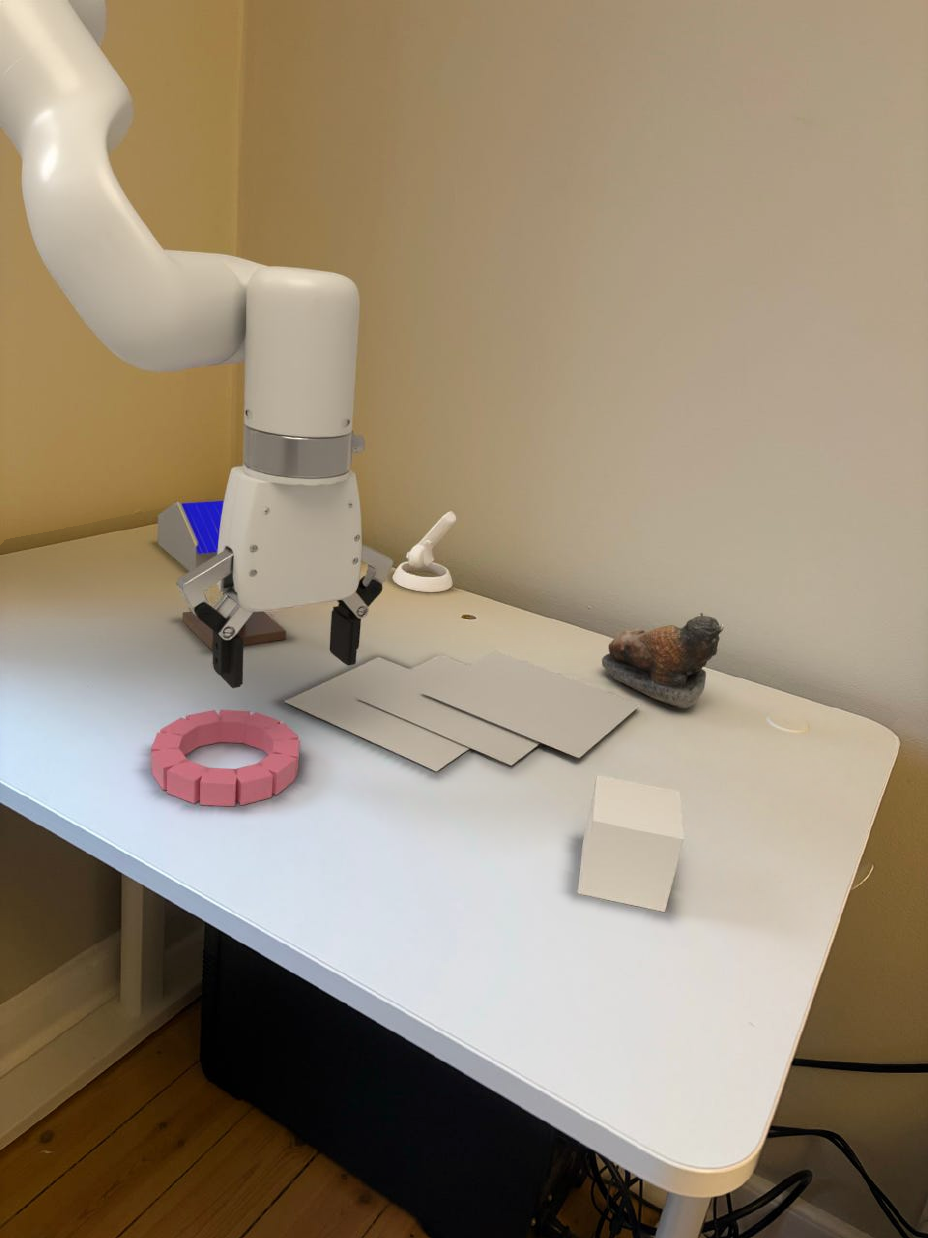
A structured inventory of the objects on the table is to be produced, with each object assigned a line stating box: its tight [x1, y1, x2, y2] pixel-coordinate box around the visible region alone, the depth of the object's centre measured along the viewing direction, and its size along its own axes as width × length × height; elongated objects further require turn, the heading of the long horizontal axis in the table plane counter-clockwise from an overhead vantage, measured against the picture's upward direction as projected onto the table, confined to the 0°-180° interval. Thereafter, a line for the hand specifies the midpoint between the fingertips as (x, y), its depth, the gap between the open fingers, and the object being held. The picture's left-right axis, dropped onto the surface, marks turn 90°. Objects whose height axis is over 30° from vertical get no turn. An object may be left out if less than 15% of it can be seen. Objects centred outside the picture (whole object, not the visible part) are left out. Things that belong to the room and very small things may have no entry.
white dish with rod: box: [392, 510, 457, 593], centre depth 114 cm, size 8×12×7 cm
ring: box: [150, 709, 301, 807], centre depth 72 cm, size 11×11×2 cm
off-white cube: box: [577, 774, 685, 913], centre depth 64 cm, size 6×6×6 cm
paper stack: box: [284, 650, 642, 772], centre depth 86 cm, size 23×25×1 cm
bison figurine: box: [601, 612, 725, 709], centre depth 93 cm, size 12×7×10 cm, turn 41°
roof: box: [156, 500, 224, 572], centre depth 118 cm, size 22×14×7 cm, turn 127°
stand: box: [181, 592, 287, 652], centre depth 94 cm, size 8×8×12 cm
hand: (288, 669), depth 72 cm, fingers open, 9 cm apart
